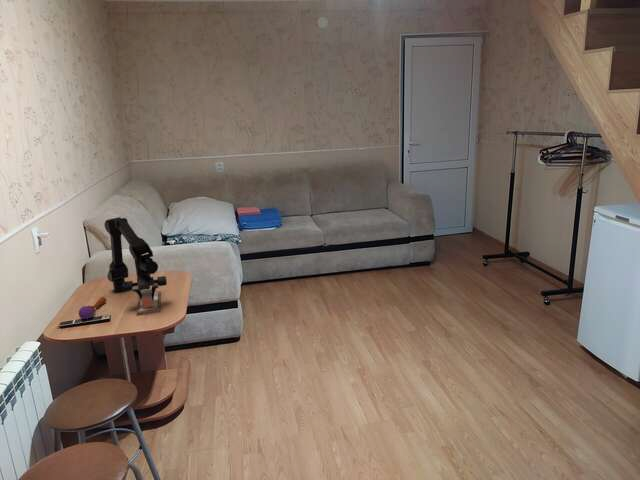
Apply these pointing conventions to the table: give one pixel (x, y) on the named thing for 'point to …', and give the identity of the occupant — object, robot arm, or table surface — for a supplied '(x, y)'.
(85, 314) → the purple maraca
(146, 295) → the red and gray block
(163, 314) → the table surface
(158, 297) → the board
